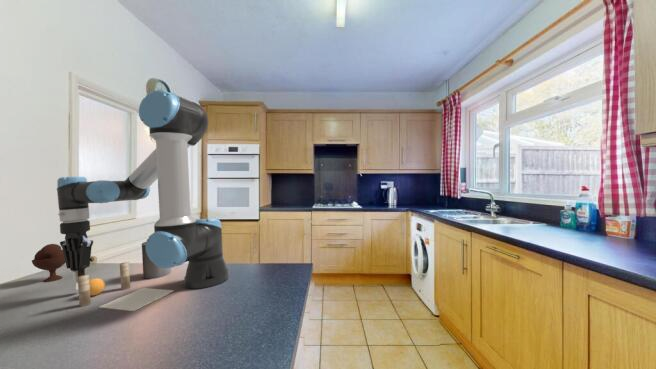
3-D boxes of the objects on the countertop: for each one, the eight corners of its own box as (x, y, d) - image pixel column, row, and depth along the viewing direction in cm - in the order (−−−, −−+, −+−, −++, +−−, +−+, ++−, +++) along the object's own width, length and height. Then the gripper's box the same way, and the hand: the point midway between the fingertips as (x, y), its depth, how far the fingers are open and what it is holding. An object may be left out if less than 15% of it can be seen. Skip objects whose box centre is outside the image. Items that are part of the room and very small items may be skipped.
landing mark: (174, 291, 89) (174, 290, 89) (133, 311, 76) (133, 310, 76) (142, 288, 93) (142, 288, 93) (98, 307, 80) (98, 306, 80)
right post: (132, 287, 95) (130, 262, 95) (124, 289, 93) (123, 264, 93) (126, 286, 96) (125, 262, 96) (119, 289, 93) (117, 264, 93)
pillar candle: (139, 276, 107) (136, 239, 106) (165, 269, 115) (163, 235, 114) (149, 280, 101) (147, 242, 101) (176, 272, 109) (173, 237, 109)
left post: (92, 303, 83) (91, 274, 83) (83, 306, 81) (81, 277, 80) (87, 302, 84) (85, 274, 84) (77, 306, 81) (75, 277, 81)
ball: (98, 274, 93) (97, 289, 93) (80, 280, 88) (78, 296, 88) (109, 278, 91) (108, 293, 92) (91, 284, 86) (90, 300, 86)
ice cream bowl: (78, 274, 114) (76, 240, 114) (49, 284, 103) (46, 246, 103) (56, 275, 115) (54, 240, 115) (25, 285, 104) (22, 247, 104)
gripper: (48, 223, 90) (53, 291, 90) (75, 222, 86) (79, 294, 86) (74, 219, 97) (79, 283, 97) (100, 219, 93) (104, 285, 94)
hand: (79, 288), depth 92 cm, fingers closed
